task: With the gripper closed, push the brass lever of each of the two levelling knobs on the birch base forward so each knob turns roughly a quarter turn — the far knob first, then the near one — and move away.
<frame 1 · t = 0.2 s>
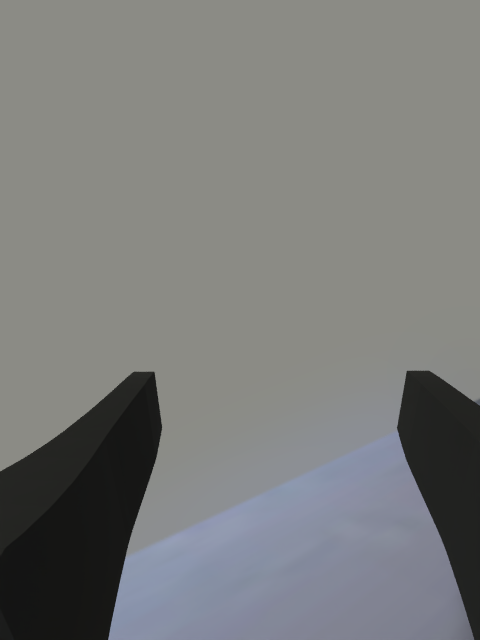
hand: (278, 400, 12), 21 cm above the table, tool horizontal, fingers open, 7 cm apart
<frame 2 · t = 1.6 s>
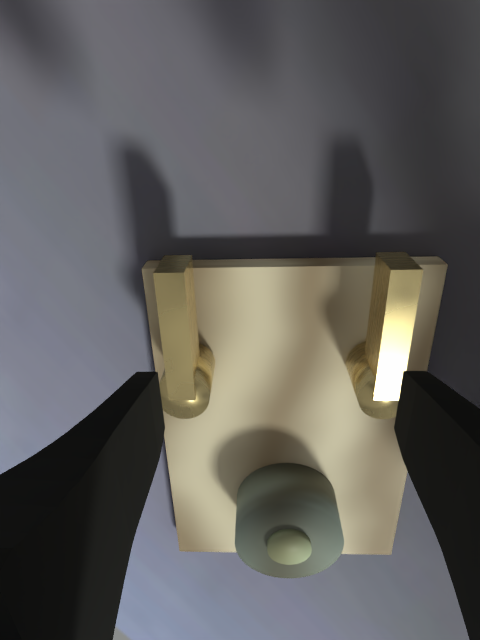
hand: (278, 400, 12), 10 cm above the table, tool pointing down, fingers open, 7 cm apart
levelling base: (286, 422, 25), on the table
knob a: (384, 334, 19), point 3 cm above the table, hinge at 0.0°
knob b: (183, 335, 19), point 3 cm above the table, hinge at 0.0°
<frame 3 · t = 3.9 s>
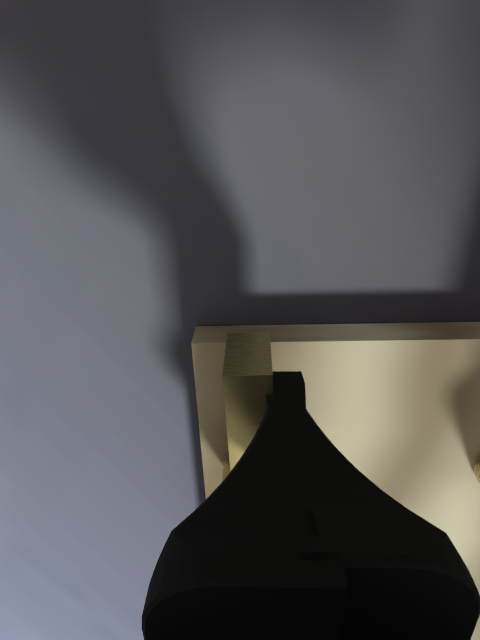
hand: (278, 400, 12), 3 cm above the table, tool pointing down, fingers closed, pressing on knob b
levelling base: (371, 525, 19), on the table
knob b: (253, 444, 13), point 3 cm above the table, hinge at 1.3°, touching gripper
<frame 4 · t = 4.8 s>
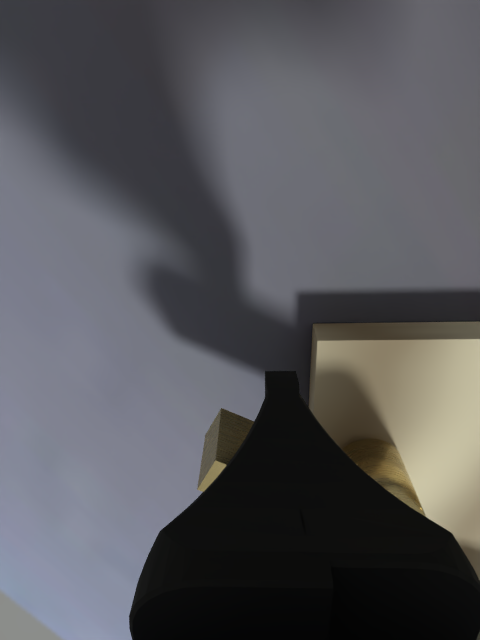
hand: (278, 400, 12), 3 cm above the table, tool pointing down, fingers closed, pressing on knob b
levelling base: (464, 526, 19), on the table
knob b: (314, 475, 14), point 3 cm above the table, hinge at 62.2°, touching gripper
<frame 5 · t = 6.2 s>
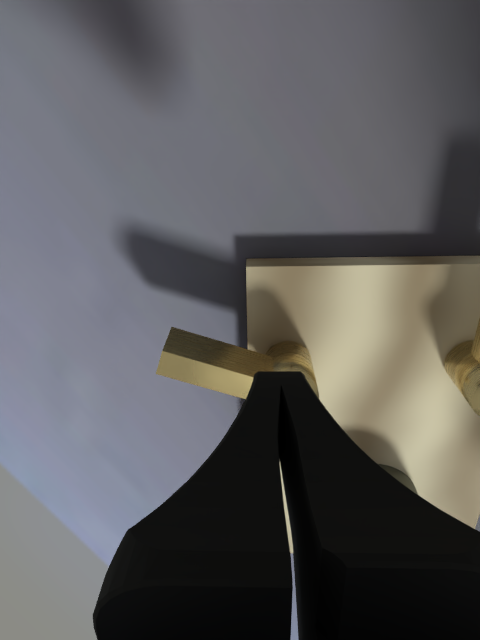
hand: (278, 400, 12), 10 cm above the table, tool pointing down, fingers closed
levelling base: (370, 422, 25), on the table
knob b: (241, 365, 20), point 3 cm above the table, hinge at 70.7°
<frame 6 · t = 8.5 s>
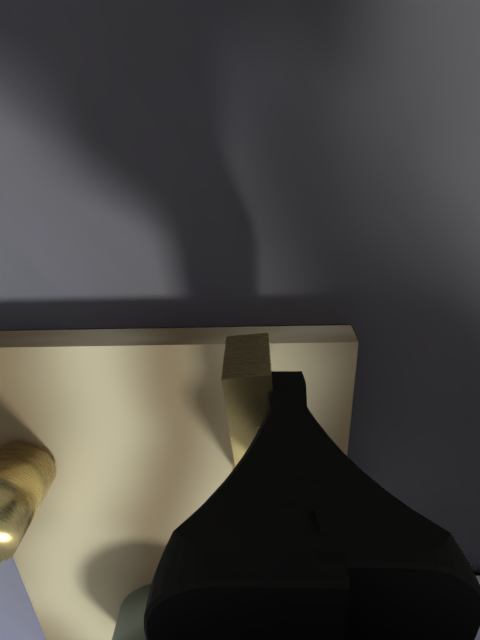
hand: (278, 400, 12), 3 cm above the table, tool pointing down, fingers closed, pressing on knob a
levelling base: (176, 526, 19), on the table
knob a: (259, 446, 13), point 3 cm above the table, hinge at 4.7°, touching gripper
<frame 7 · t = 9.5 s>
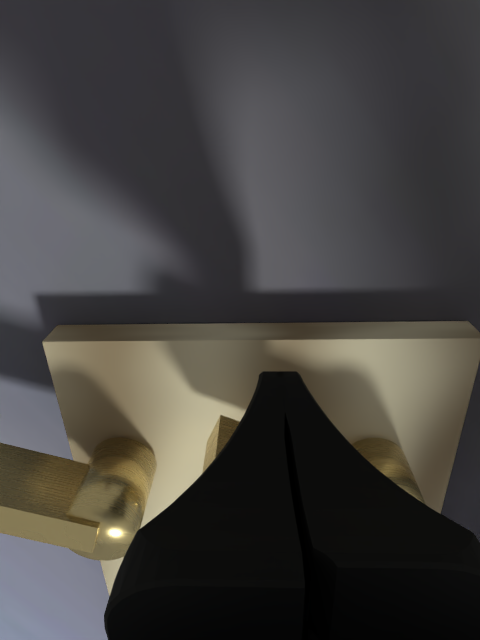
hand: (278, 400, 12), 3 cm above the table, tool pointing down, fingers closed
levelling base: (260, 524, 19), on the table
knob a: (317, 477, 14), point 3 cm above the table, hinge at 65.8°, touching gripper
knob b: (39, 480, 14), point 3 cm above the table, hinge at 71.4°
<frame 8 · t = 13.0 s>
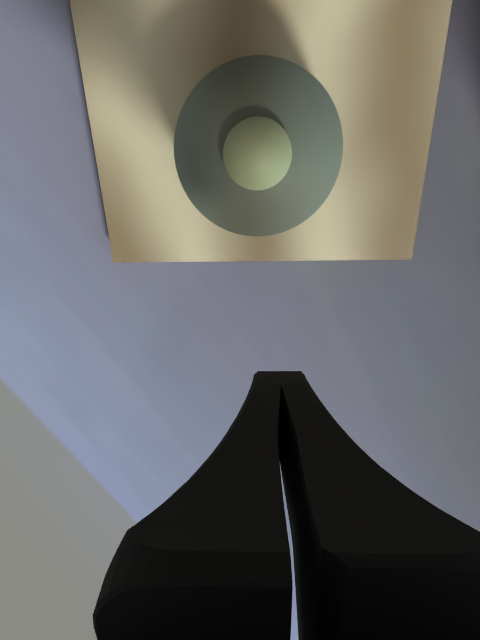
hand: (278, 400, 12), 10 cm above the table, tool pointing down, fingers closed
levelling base: (257, 6, 17), on the table
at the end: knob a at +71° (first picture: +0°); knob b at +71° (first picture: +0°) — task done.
